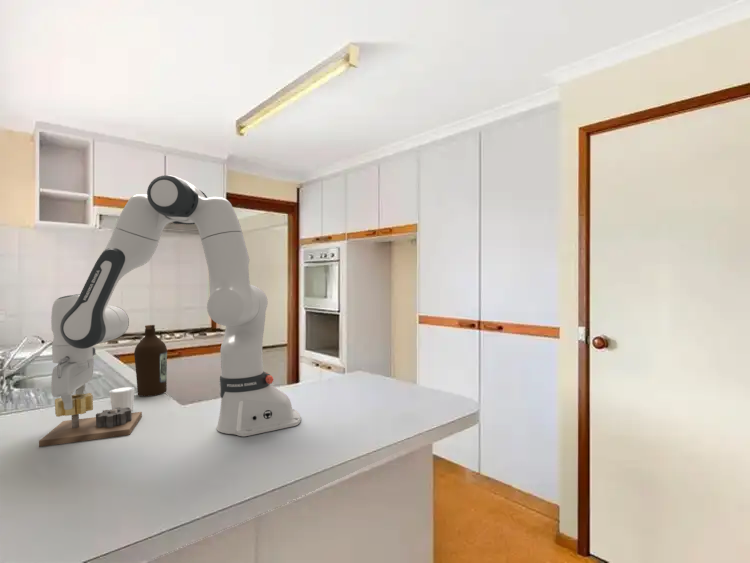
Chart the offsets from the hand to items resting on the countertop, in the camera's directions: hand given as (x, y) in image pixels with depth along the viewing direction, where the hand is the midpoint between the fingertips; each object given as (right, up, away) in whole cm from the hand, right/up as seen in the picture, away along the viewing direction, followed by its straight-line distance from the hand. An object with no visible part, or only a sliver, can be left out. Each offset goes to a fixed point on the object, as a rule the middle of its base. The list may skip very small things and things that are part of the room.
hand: (74, 404), depth 114 cm
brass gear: (0, -2, 0) cm, 2 cm away
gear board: (+5, -8, +1) cm, 9 cm away
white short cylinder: (+2, -8, +19) cm, 20 cm away
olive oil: (0, -8, +39) cm, 40 cm away
